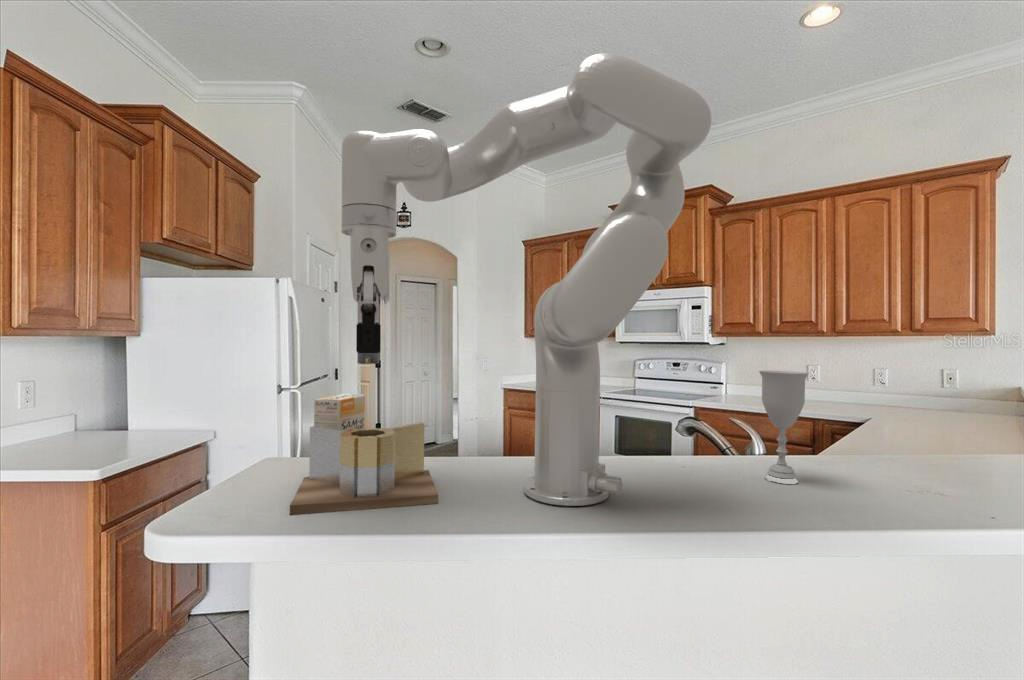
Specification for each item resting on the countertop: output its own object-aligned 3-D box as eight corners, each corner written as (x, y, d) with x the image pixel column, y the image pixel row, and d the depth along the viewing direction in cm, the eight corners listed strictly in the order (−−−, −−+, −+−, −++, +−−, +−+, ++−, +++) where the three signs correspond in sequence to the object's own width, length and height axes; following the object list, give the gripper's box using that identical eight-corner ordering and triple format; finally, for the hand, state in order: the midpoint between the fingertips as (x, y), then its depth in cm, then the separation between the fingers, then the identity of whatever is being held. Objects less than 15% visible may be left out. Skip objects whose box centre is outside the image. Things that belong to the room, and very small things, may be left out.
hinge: (430, 492, 70) (431, 435, 70) (299, 501, 65) (299, 441, 65) (423, 471, 80) (423, 422, 80) (310, 478, 76) (310, 425, 76)
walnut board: (437, 503, 69) (438, 494, 69) (289, 514, 64) (289, 505, 64) (428, 477, 81) (428, 469, 81) (304, 484, 76) (304, 477, 76)
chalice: (807, 479, 83) (809, 372, 83) (806, 489, 77) (808, 374, 77) (759, 472, 87) (761, 369, 87) (754, 481, 81) (756, 372, 81)
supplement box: (339, 483, 78) (340, 399, 77) (312, 480, 78) (312, 398, 78) (365, 469, 86) (366, 393, 86) (340, 467, 87) (340, 392, 86)
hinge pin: (388, 363, 71) (388, 290, 71) (365, 364, 68) (365, 288, 68) (371, 362, 74) (371, 292, 73) (348, 363, 70) (348, 290, 70)
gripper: (398, 212, 64) (397, 354, 64) (394, 236, 79) (393, 350, 80) (337, 207, 62) (336, 355, 62) (345, 233, 77) (344, 350, 78)
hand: (368, 351), depth 71 cm, fingers closed on hinge pin, 3 cm apart
